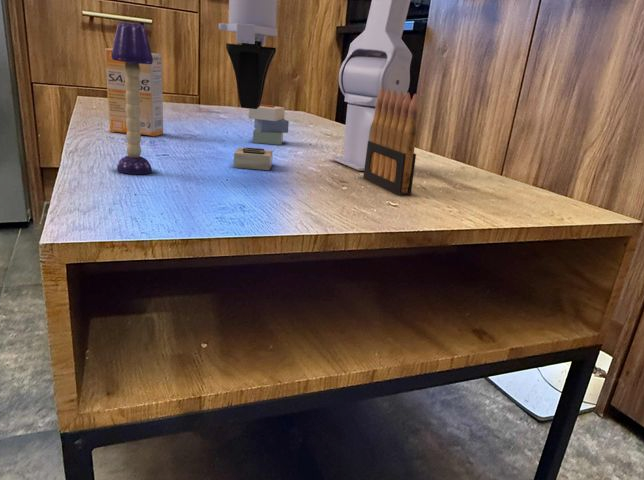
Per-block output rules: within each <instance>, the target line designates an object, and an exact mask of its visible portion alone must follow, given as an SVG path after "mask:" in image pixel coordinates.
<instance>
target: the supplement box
mask: <svg viewBox="0 0 644 480" xmlns="http://www.w3.org/2000/svg"><path fill="white" fill-rule="evenodd" d="M112 49H113V48H104V57H105V74H106V75H105V76H106V88H107V89H106V90H107V91H106V92H107V105H108V123H109V131H110V132H114V133H120V134H127V131H128V129H127V127H126V120H127V114H126V105H127V101H126V91H127V89H126V86H125V79H126V76H127V75H126V73H125V63H126V62H122V61H116V60H113V59H112V56H111V55H112ZM151 54H152V58H153V63H152V64H139V66H140V75H139V79H140V89H139V93H140V97H141V100H140V103H139V105H140V108H141V115H140V117H139V119H140V121H141V129H140V131H139V132H140V134H141V136H147V137H157V136H160V135H163V134H164V105H163V104H164V102H163V63H162V60H163V59H162V56H163V55H162V54H161V53H153V52H151Z"/></svg>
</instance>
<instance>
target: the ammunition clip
mask: <svg viewBox="0 0 644 480" xmlns="http://www.w3.org/2000/svg"><path fill="white" fill-rule="evenodd" d="M418 114H419V97H418V94H417V93H414V94H413V96H412V98H411V94H410V92H409V91H407V94H406V96H405V97H403V92H402V91H400V93H399V95H398V97H397V93H396V90H394V91H393V93H392V95H391V94H390V89H387V91H386V93H385V94H384V89H383V87H382V88H381V90H380V92H379V94H378V98H377V102H376V108H375V114H374V118H373V122H372V129H371V137H370V141H368V145H367V152H366V160H365V168H364V171H363V176H362V177H363V179H364V180H366V181H368V182H370V183H372V184H375V185H376V186H378V187H380V188H382V189H384V190H387V191H388V192H391V193H393V194H395V195H397V196H412V191H413V190H412V189H413V182H414V173H415V166H416V159H417V153H415V149H416V141H417V136H418V135H417V133H418V125H417V124H418Z"/></svg>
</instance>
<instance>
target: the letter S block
mask: <svg viewBox="0 0 644 480" xmlns="http://www.w3.org/2000/svg"><path fill="white" fill-rule="evenodd" d="M273 152H274V151H273V150H269V149H265V148H260V147H259V148H258V147H249V146H248V147H247V146H246V147H238V148H237V149H235V151H234V152H233V168H235V169H249V170H259V171H270V169H271V167H272V165H273Z"/></svg>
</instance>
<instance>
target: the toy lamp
mask: <svg viewBox="0 0 644 480" xmlns="http://www.w3.org/2000/svg"><path fill="white" fill-rule="evenodd" d="M147 33H148V32H147V30H146V27H145V25H143V24H138V23H133V22H125V21H119V22H118V24H117V26H116V30H115V35H114V40H113V45H112V48H111V49H112V55H111V56H112V59H113V60H116V61H122V62H126V63H125V73H126V75H127V76H126V79H125V86H126V89H127V91H126V101H127V105H126V114H127V120H126V127H127V129H128V131H127V133H126V134H125V135H126V137H125V138H126V142H127V144H126V154H127V155H125V156H123V157H122V158H120V160H119V161H118V163H117V166H116V170H117V171H118V172H120V173H123V174H129V175H148V174H152V173H153V169H152V165H151V164H150V162H149V160H148V159H146V158H145V157H143V156H141V154H142V147H141V145H140V144H141V142H142V135H141V134H140V132H139V131H140V129H141V121H140V119H139V117H140V115H141V108H140V105H139V103H140V100H141V97H140V93H139V89H140V79H139V75H140V66H139V64H152V63H153V58H152V54H151V53H152V50H151V46H150V40H149V37H148V34H147Z"/></svg>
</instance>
